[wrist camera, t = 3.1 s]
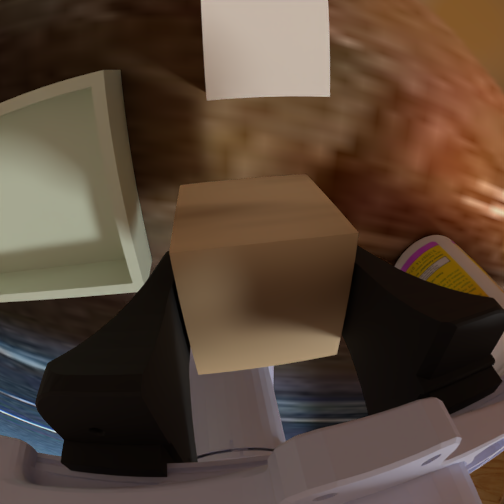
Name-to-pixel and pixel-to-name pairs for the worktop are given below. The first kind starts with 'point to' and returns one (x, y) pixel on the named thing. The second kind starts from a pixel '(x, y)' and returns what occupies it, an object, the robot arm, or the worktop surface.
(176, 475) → the robot arm
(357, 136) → the worktop surface
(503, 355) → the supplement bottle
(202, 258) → the oak block
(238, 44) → the cream box
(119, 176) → the tote tray
